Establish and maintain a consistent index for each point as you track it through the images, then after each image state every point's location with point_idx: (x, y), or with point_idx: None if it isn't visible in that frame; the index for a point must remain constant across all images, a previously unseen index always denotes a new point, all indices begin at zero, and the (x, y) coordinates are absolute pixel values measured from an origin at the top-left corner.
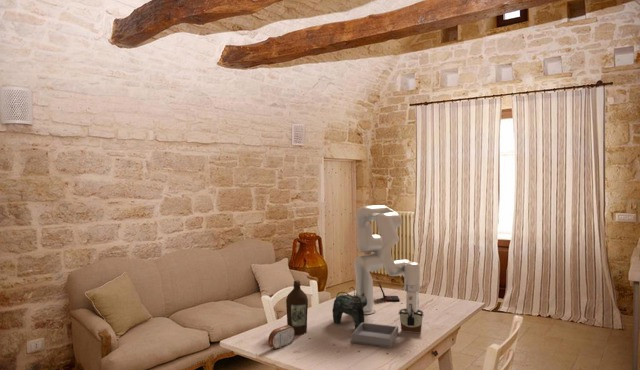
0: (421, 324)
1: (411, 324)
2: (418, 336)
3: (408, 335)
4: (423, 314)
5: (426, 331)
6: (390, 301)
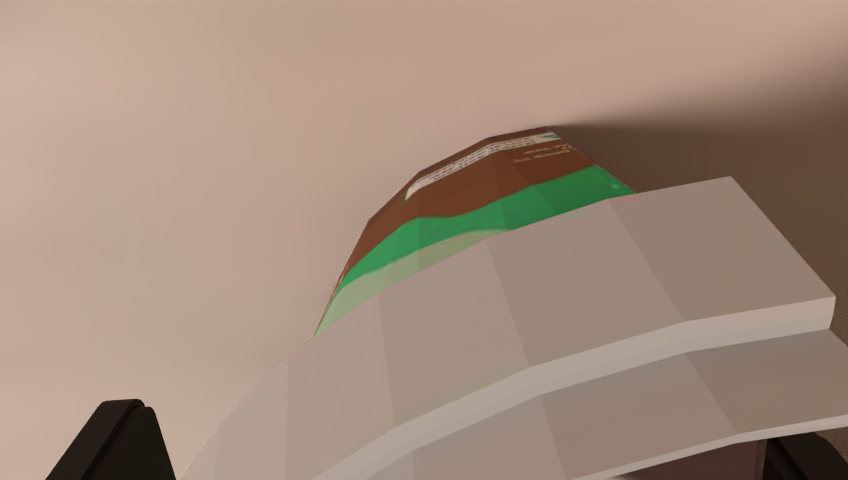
0: (598, 176)
1: None
2: (791, 124)
3: None
4: (812, 280)
5: (362, 23)
6: None
